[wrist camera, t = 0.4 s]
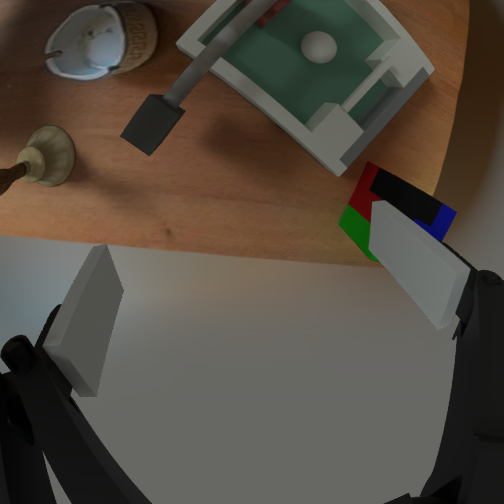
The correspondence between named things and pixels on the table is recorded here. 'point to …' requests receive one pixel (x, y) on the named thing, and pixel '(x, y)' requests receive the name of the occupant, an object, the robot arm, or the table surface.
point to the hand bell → (42, 159)
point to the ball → (318, 47)
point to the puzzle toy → (399, 196)
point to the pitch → (318, 71)
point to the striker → (193, 78)
